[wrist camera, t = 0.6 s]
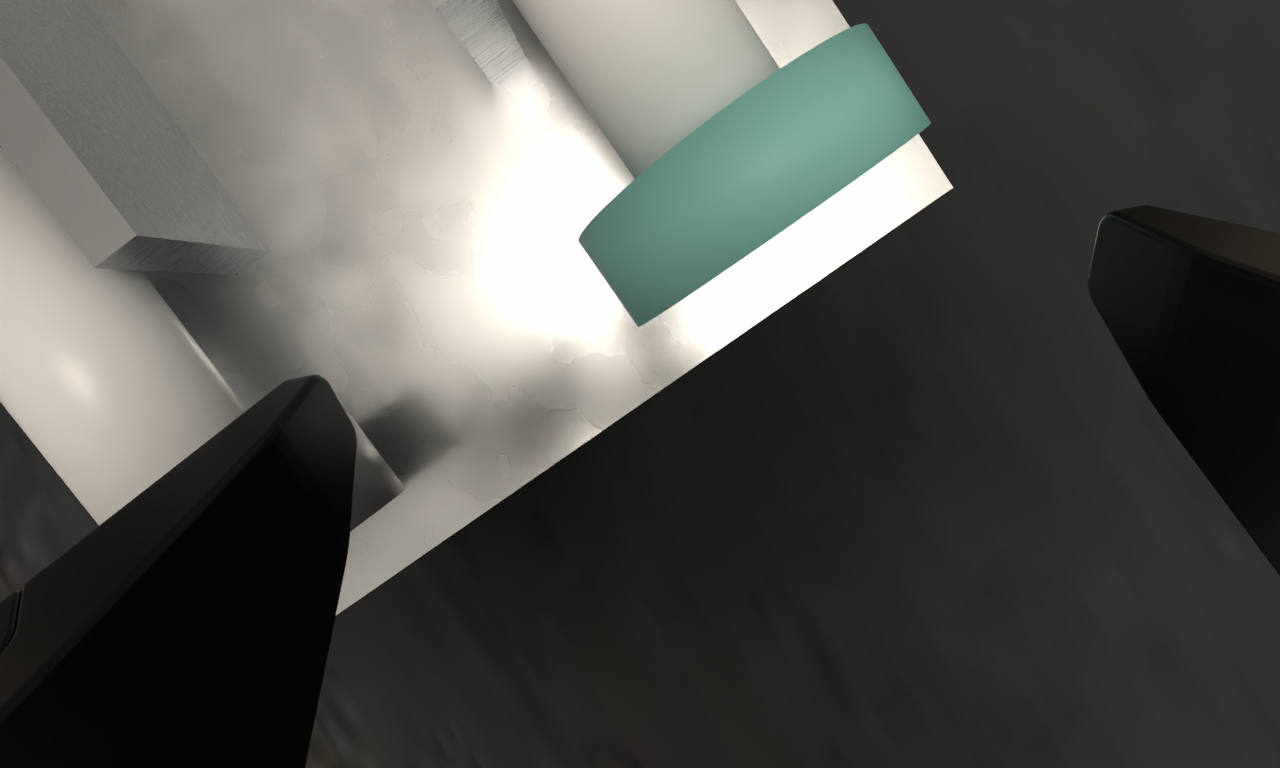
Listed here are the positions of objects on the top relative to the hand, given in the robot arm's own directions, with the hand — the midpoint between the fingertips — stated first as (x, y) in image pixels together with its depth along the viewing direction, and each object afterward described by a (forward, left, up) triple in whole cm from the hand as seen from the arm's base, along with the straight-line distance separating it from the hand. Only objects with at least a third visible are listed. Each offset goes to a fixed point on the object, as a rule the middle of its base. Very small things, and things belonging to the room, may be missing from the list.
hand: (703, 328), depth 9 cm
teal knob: (+6, -3, -13) cm, 15 cm away
